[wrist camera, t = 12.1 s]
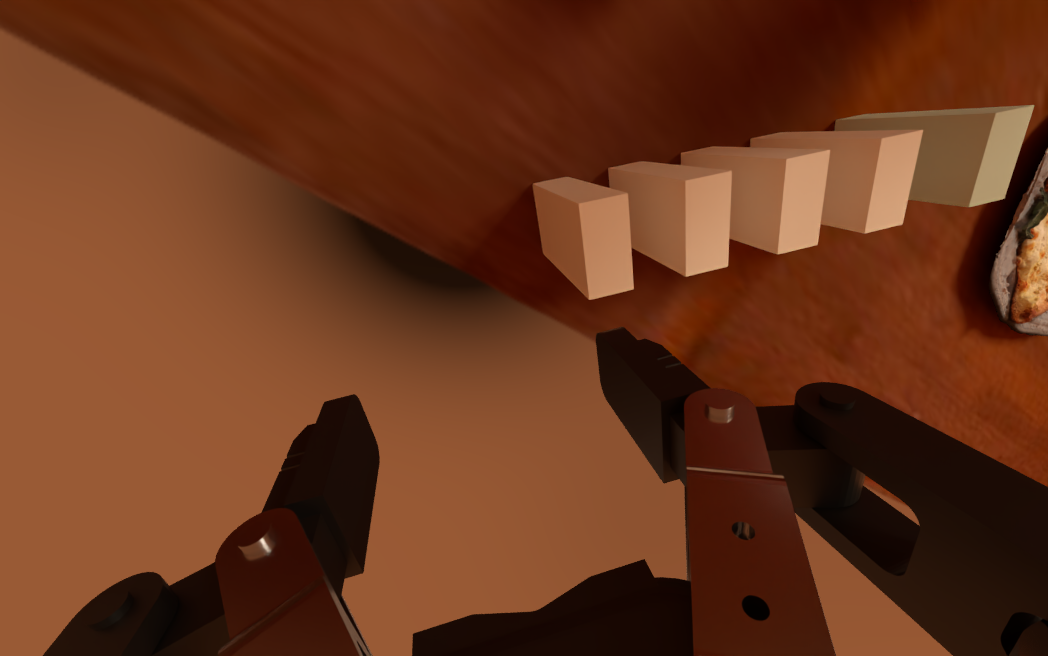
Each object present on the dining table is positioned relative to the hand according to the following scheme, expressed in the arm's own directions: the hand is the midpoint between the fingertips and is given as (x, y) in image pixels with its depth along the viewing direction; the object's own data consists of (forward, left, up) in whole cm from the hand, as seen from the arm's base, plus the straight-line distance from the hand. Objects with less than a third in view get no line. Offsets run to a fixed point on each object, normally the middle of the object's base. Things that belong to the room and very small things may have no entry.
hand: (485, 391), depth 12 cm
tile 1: (-8, 0, -20) cm, 21 cm away
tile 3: (-19, 0, -20) cm, 27 cm away
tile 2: (-13, 0, -20) cm, 24 cm away
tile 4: (-24, 0, -20) cm, 31 cm away
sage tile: (-31, 0, -20) cm, 37 cm away
